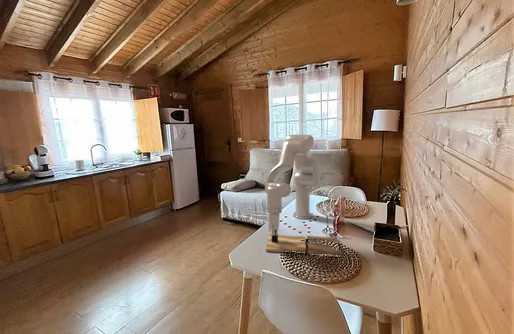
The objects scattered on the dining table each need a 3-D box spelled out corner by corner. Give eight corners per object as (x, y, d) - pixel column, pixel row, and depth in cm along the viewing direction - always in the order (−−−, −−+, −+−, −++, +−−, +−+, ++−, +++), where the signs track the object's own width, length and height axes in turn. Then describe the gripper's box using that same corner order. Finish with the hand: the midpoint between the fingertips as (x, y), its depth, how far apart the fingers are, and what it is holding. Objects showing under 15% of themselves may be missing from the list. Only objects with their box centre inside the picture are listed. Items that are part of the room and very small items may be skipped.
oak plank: (269, 236, 137) (269, 234, 137) (305, 239, 134) (305, 236, 133) (265, 251, 122) (265, 248, 121) (305, 254, 118) (305, 251, 118)
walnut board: (306, 238, 135) (306, 235, 134) (336, 239, 132) (336, 237, 131) (307, 255, 117) (308, 252, 117) (342, 257, 114) (342, 254, 114)
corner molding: (337, 219, 164) (373, 233, 136) (337, 216, 164) (373, 230, 136) (370, 215, 175) (409, 228, 147) (370, 213, 175) (409, 225, 147)
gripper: (269, 204, 133) (269, 235, 136) (265, 213, 119) (266, 248, 122) (282, 204, 132) (282, 235, 135) (280, 214, 117) (280, 249, 120)
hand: (274, 241), depth 128 cm, fingers closed
